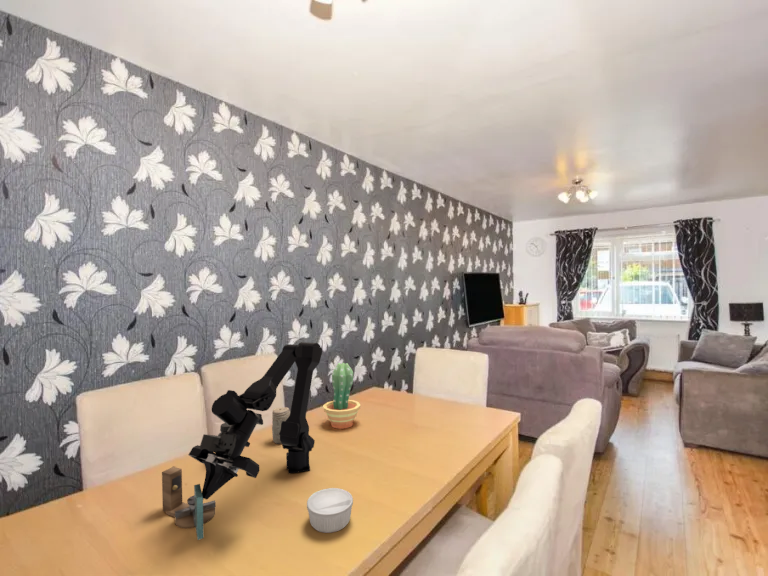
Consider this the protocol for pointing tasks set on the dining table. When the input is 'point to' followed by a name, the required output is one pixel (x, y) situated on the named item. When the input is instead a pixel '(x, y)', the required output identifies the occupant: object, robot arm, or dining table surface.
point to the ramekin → (330, 509)
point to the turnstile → (196, 510)
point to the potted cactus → (342, 398)
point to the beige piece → (278, 422)
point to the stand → (178, 498)
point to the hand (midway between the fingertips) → (203, 498)
